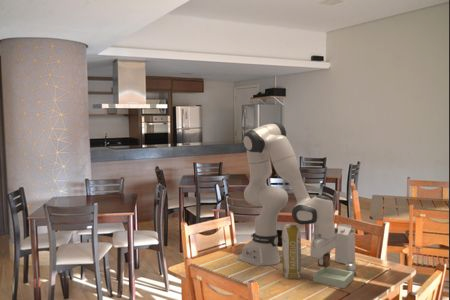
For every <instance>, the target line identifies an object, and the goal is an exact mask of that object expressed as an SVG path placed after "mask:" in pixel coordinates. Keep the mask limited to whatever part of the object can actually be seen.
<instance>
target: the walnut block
mask: <svg viewBox="0 0 450 300" xmlns="http://www.w3.org/2000/svg"><path fill="white" fill-rule="evenodd" d="M323 260H324V264H322V265H321V264H319V260H318V259H317V266H318V267H320V268H322V267H324V268H327V267H331V253H330V254H324V255H323Z"/></svg>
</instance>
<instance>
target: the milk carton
mask: <svg viewBox="0 0 450 300" xmlns="http://www.w3.org/2000/svg"><path fill="white" fill-rule="evenodd" d="M336 228H338V233H337V246H336V247H335V248H334V257H335V259H334V260H335V261H334V262H336V263H339V264H344V265H346V263H347V262H353V263H355V261H356V231H355V230H354V229H353V227H352V225H350V224H344V223H339V222H338V224H337V227H336Z"/></svg>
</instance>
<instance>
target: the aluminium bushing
mask: <svg viewBox="0 0 450 300" xmlns="http://www.w3.org/2000/svg"><path fill="white" fill-rule="evenodd" d="M356 269H357V265H356V263H355V262H347V263H346V264H345V270H346V271H351V272H354V277H356V275H357V270H356Z"/></svg>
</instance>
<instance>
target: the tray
mask: <svg viewBox="0 0 450 300" xmlns="http://www.w3.org/2000/svg"><path fill="white" fill-rule="evenodd" d="M354 277H355V276H354V272H351V271H346V269H341V268H335V267H331V266H328V267H327V268H324V267H320V268H319V269H318V270H316V271H315V272H314V273H313V274H312V281H313V283H318V284H323V285H328V286H332V287H336V288H340V289H345V288H346V287H347V286H348V285H349V284H351V282H353V280H354Z"/></svg>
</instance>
